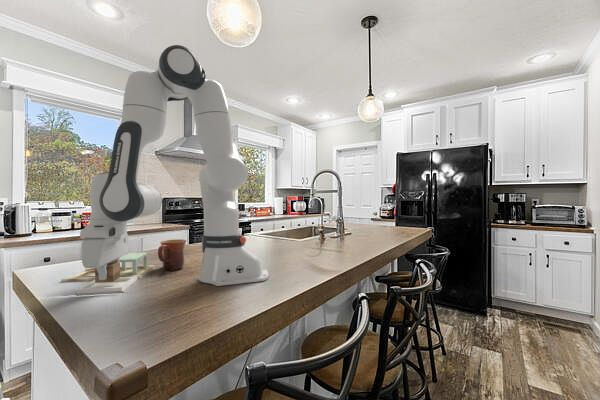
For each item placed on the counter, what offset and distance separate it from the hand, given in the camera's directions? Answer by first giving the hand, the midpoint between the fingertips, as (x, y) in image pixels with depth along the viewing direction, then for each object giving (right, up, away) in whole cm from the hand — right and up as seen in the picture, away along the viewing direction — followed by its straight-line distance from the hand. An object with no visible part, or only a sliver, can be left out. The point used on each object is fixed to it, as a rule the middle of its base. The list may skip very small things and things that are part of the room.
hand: (108, 276), depth 80 cm
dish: (0, -4, 0) cm, 4 cm away
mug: (+8, -4, +21) cm, 23 cm away
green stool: (-3, -3, +14) cm, 15 cm away
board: (-8, -3, +13) cm, 15 cm away
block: (0, -1, 0) cm, 1 cm away
